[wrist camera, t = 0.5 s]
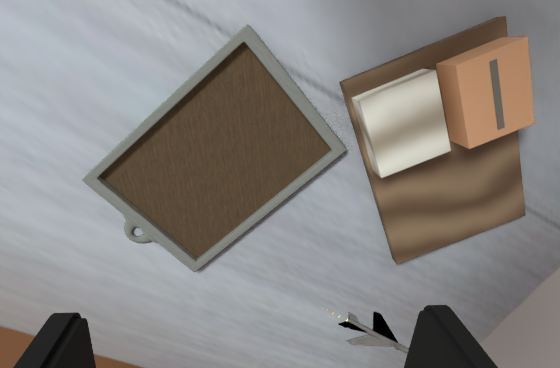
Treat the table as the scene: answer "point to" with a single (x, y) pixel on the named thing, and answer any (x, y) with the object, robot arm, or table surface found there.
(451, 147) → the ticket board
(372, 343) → the toy airplane
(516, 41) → the tan box with slot
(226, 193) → the framed hanging board
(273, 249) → the table surface
